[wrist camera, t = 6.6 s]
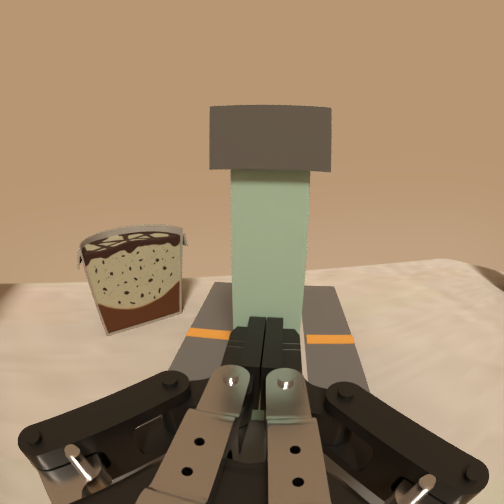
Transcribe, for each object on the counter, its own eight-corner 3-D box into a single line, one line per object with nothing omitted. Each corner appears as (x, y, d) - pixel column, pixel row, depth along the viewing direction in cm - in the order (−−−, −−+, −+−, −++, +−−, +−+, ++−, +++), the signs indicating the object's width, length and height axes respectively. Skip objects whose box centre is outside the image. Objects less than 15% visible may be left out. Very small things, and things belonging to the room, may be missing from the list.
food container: (170, 292, 39) (164, 219, 36) (192, 309, 34) (186, 227, 31) (84, 315, 31) (68, 236, 28) (95, 340, 26) (74, 248, 23)
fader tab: (223, 423, 14) (209, 106, 10) (235, 370, 19) (232, 122, 14) (300, 428, 14) (331, 107, 9) (299, 373, 19) (315, 124, 14)
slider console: (120, 524, 9) (91, 497, 8) (216, 304, 35) (214, 272, 34) (381, 544, 8) (413, 521, 6) (331, 309, 34) (334, 277, 33)
